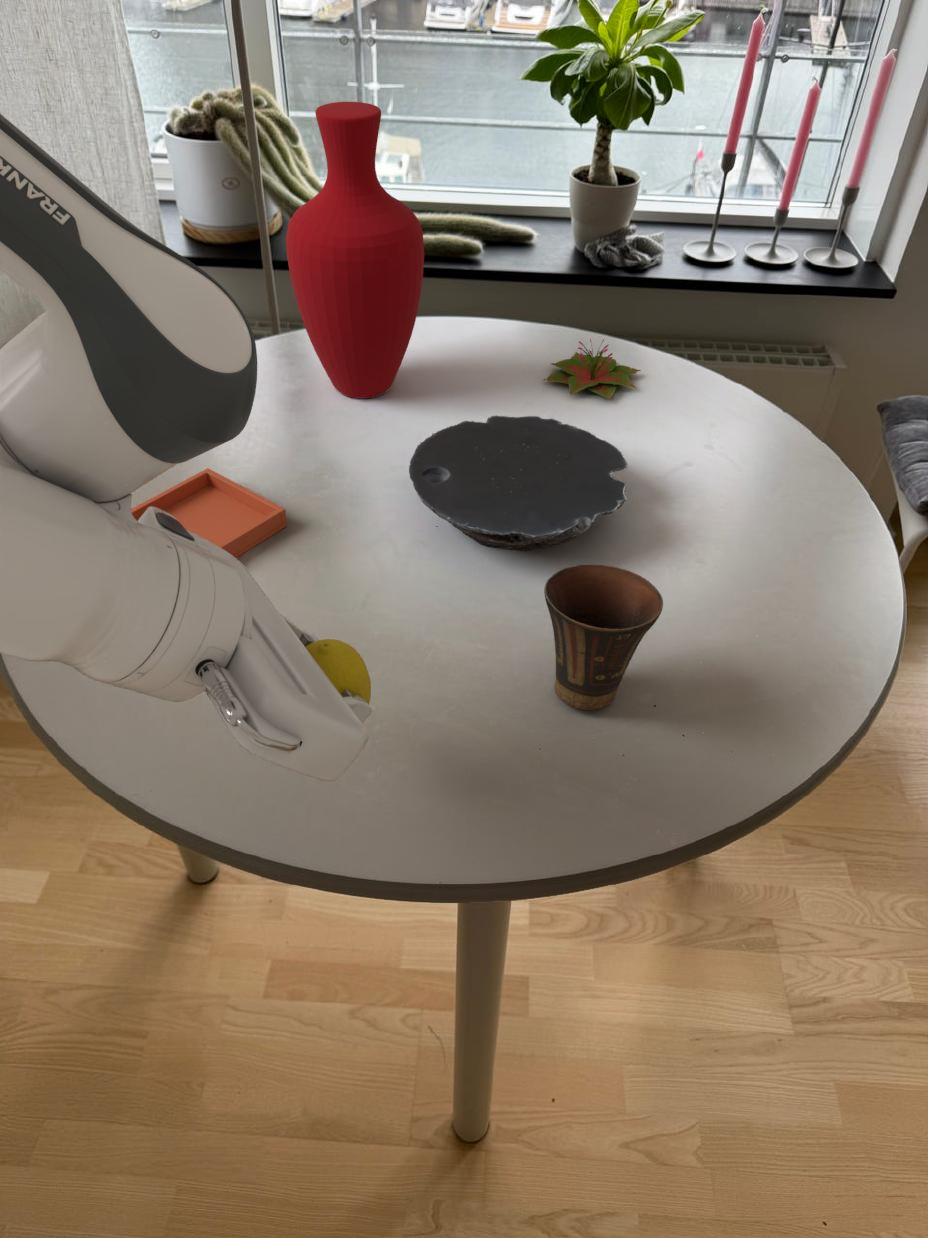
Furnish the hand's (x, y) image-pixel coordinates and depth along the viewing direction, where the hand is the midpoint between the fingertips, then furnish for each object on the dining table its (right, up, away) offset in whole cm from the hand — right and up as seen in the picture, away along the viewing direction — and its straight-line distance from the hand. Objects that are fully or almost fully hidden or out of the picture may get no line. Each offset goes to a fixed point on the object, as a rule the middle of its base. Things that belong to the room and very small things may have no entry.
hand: (337, 680), depth 65 cm
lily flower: (+24, +33, +52) cm, 66 cm away
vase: (-3, +32, +50) cm, 59 cm away
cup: (+19, -1, +13) cm, 23 cm away
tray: (-16, +13, +27) cm, 34 cm away
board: (+14, +15, +31) cm, 37 cm away
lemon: (-1, -4, +3) cm, 5 cm away
